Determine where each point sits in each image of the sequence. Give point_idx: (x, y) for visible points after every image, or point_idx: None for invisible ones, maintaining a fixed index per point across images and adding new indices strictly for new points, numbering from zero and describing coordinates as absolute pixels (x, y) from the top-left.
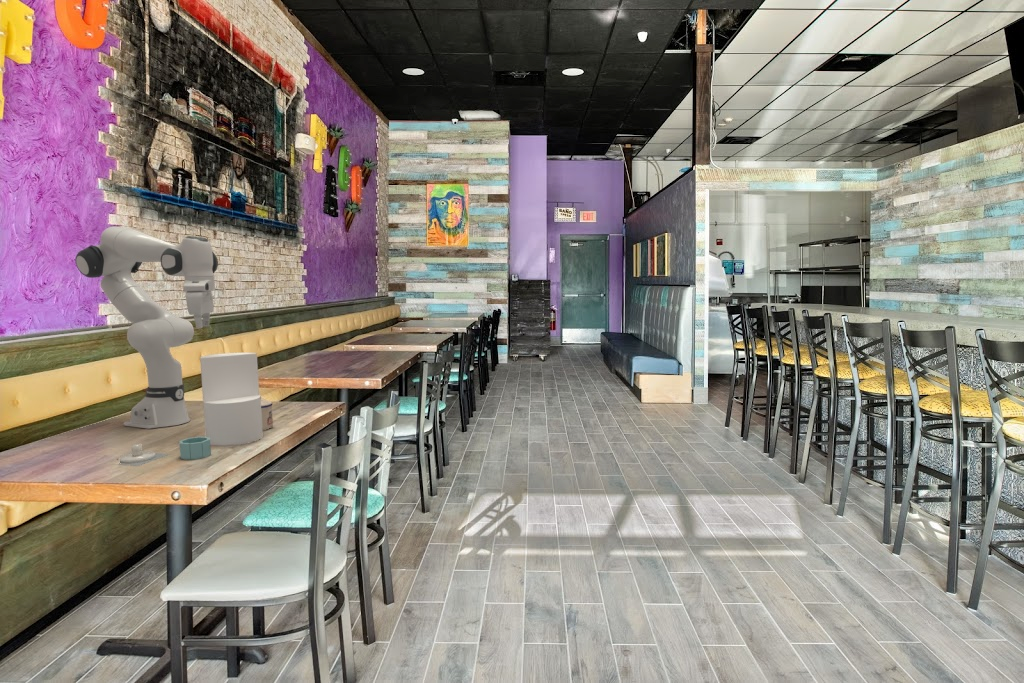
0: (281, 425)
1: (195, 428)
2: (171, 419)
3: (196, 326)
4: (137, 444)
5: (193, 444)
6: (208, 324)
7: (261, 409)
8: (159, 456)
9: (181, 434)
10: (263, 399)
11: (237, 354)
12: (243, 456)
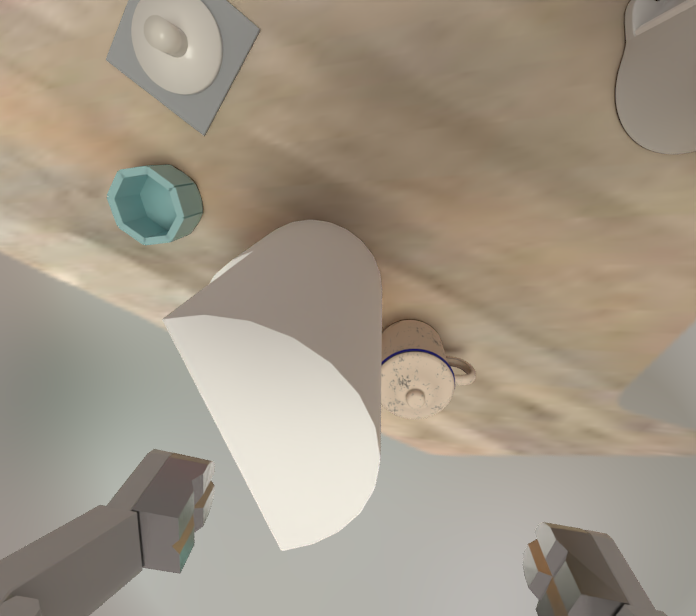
0: None
1: (522, 181)
2: (636, 90)
3: (142, 467)
4: (161, 34)
5: (112, 205)
6: (539, 589)
7: None
8: (186, 107)
9: (455, 142)
10: (407, 407)
11: (274, 484)
12: (144, 300)
